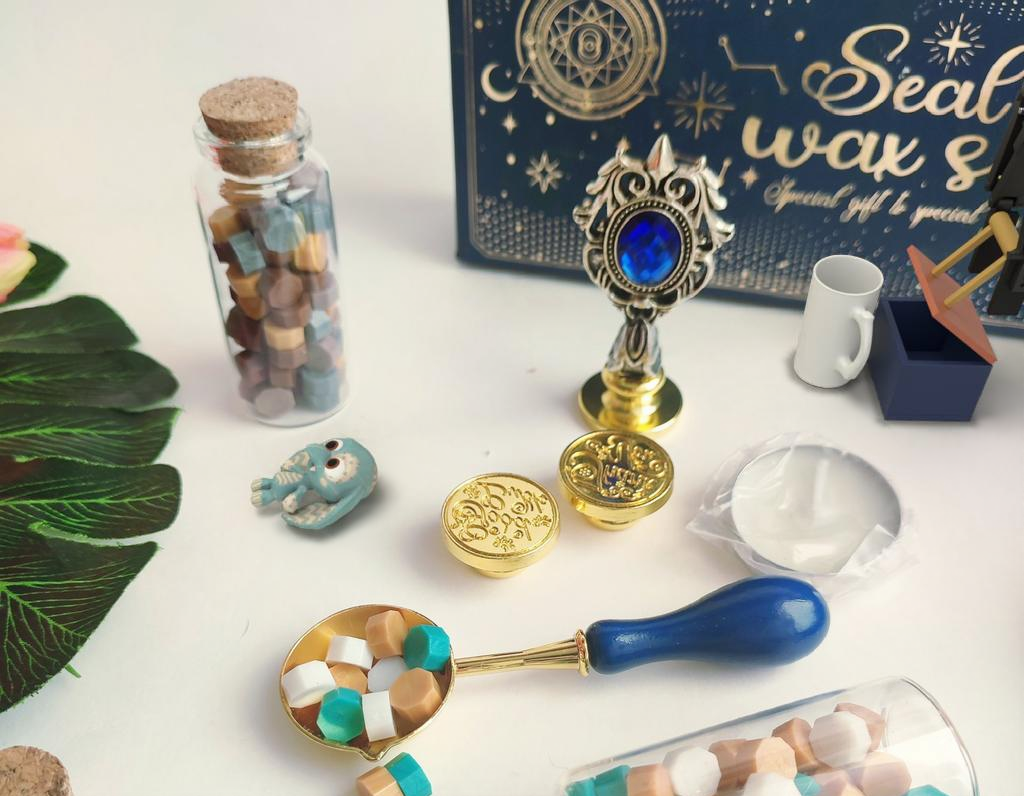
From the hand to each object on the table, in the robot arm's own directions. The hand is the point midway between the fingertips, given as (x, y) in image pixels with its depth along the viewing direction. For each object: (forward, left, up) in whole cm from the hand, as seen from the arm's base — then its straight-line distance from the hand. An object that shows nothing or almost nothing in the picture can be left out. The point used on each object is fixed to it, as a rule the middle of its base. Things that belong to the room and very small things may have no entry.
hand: (992, 291), depth 104 cm
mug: (+13, -1, -12) cm, 18 cm away
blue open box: (+4, 0, -12) cm, 13 cm away
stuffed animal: (+64, +18, -12) cm, 68 cm away
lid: (+4, 0, -2) cm, 4 cm away
